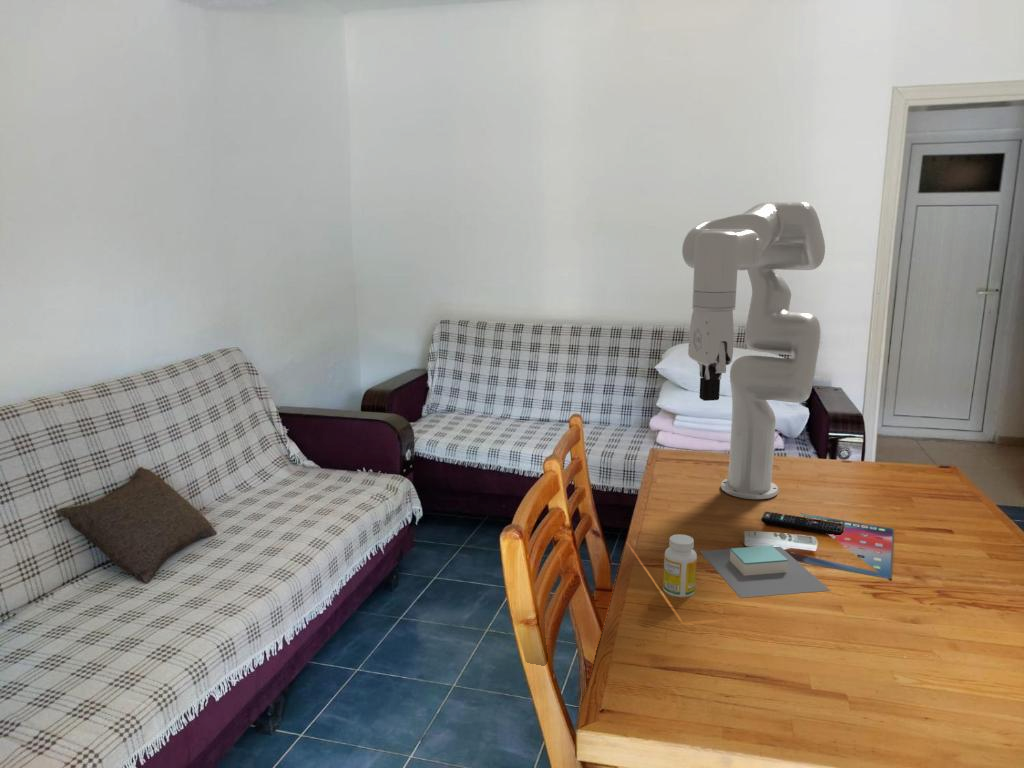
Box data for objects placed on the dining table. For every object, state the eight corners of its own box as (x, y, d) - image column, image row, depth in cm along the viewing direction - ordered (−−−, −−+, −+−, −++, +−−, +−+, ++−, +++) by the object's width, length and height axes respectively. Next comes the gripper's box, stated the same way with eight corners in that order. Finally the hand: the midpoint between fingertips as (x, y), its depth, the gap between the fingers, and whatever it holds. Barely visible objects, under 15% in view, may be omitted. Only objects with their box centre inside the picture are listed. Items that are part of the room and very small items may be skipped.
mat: (699, 553, 142) (699, 551, 141) (778, 547, 144) (778, 545, 144) (740, 600, 124) (740, 597, 124) (830, 592, 126) (830, 590, 126)
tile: (730, 548, 137) (745, 563, 131) (771, 545, 138) (787, 559, 132) (729, 560, 137) (744, 575, 132) (770, 557, 139) (786, 572, 133)
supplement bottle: (666, 599, 125) (668, 546, 123) (660, 583, 130) (662, 532, 128) (698, 599, 125) (701, 545, 123) (691, 583, 130) (693, 532, 128)
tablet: (894, 531, 151) (894, 527, 151) (891, 584, 130) (891, 579, 130) (794, 515, 160) (794, 511, 160) (776, 561, 138) (776, 557, 138)
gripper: (679, 297, 141) (675, 391, 146) (710, 306, 127) (705, 410, 131) (716, 296, 143) (712, 389, 147) (752, 304, 128) (746, 408, 132)
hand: (709, 399), depth 139 cm, fingers closed
